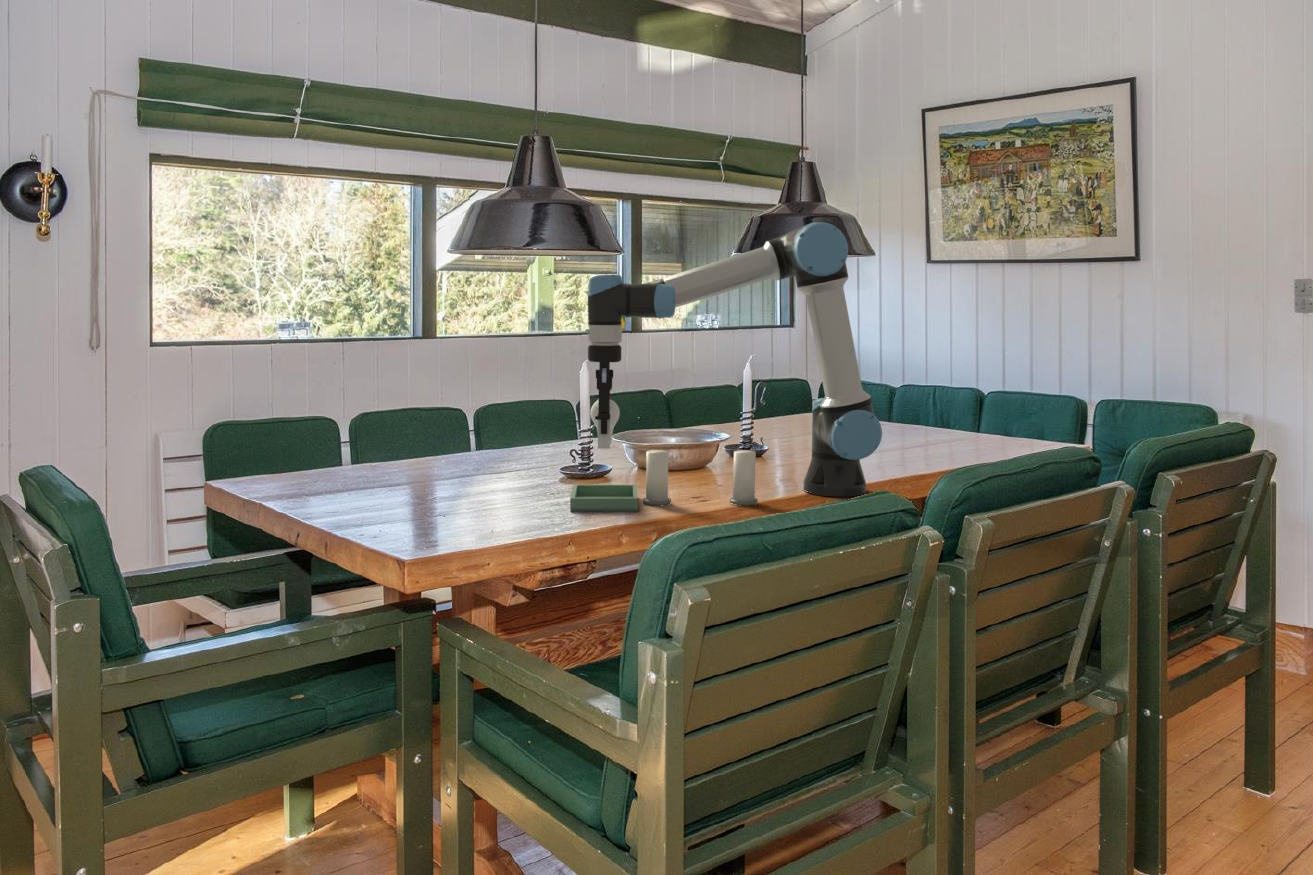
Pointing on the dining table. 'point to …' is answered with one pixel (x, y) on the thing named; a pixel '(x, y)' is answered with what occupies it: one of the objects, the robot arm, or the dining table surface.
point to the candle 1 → (656, 478)
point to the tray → (604, 498)
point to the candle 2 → (744, 478)
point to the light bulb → (613, 415)
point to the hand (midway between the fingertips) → (604, 445)
